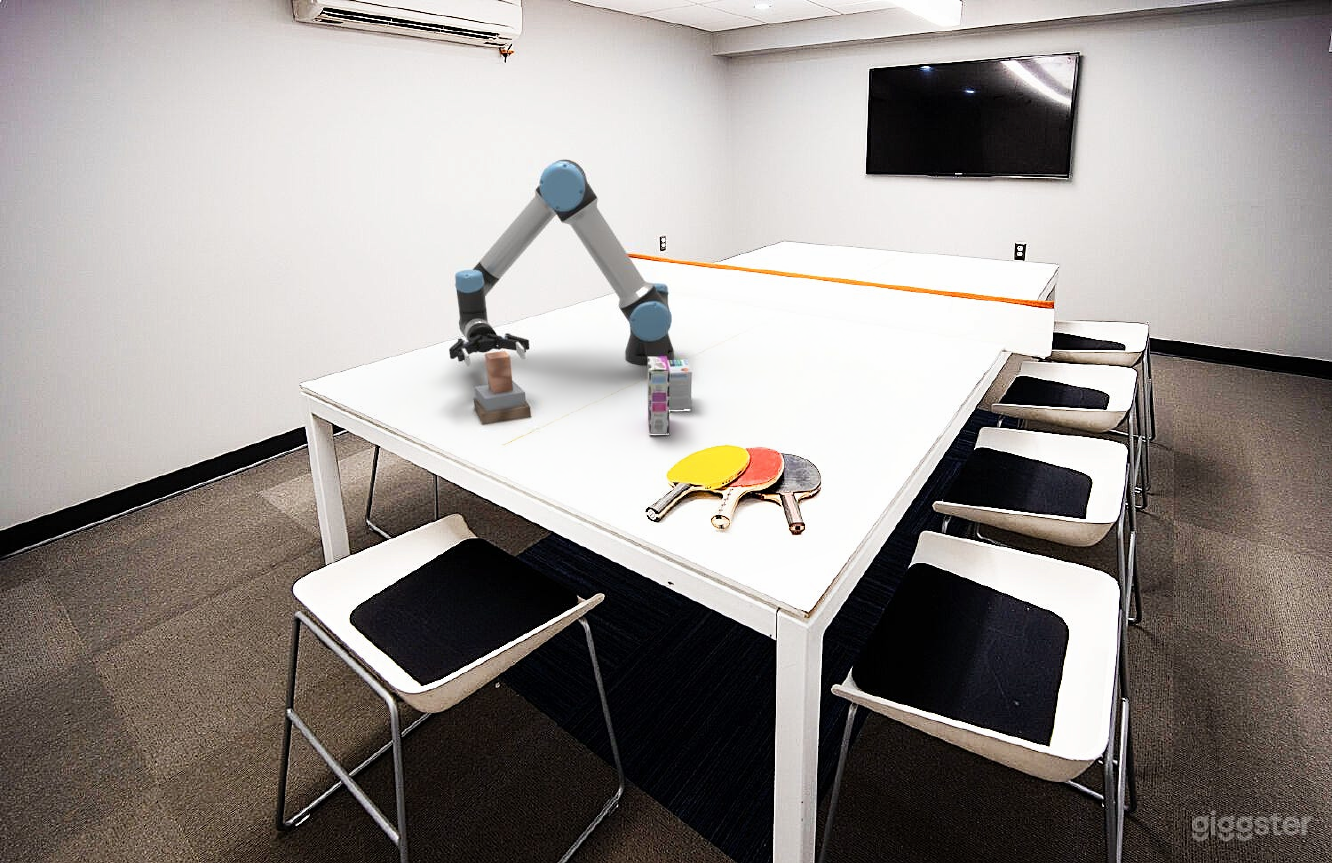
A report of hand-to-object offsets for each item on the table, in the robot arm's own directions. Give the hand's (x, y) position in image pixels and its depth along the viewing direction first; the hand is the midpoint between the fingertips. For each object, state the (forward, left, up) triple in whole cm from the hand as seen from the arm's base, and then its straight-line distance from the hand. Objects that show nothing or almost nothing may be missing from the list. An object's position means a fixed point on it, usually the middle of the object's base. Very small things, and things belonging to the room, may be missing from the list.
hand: (496, 357), depth 181 cm
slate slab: (0, 0, -12) cm, 12 cm away
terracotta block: (0, 0, -8) cm, 8 cm away
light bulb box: (-43, +13, -15) cm, 47 cm away
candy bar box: (-33, +25, -15) cm, 44 cm away
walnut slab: (0, 0, -15) cm, 15 cm away
